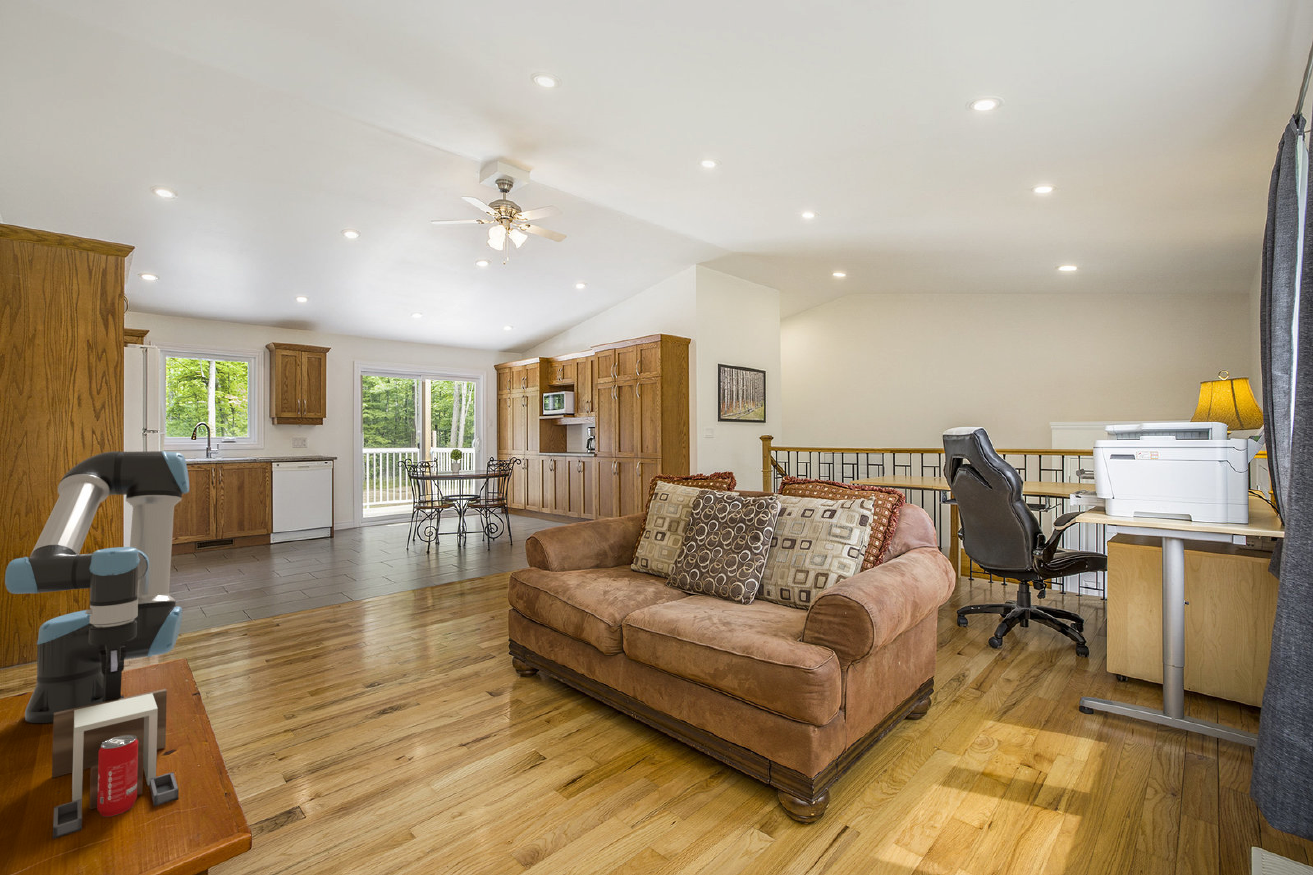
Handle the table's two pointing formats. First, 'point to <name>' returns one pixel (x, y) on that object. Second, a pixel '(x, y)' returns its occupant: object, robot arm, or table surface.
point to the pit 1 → (67, 818)
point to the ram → (102, 741)
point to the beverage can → (117, 775)
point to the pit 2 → (163, 789)
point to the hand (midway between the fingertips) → (110, 734)
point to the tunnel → (113, 715)
